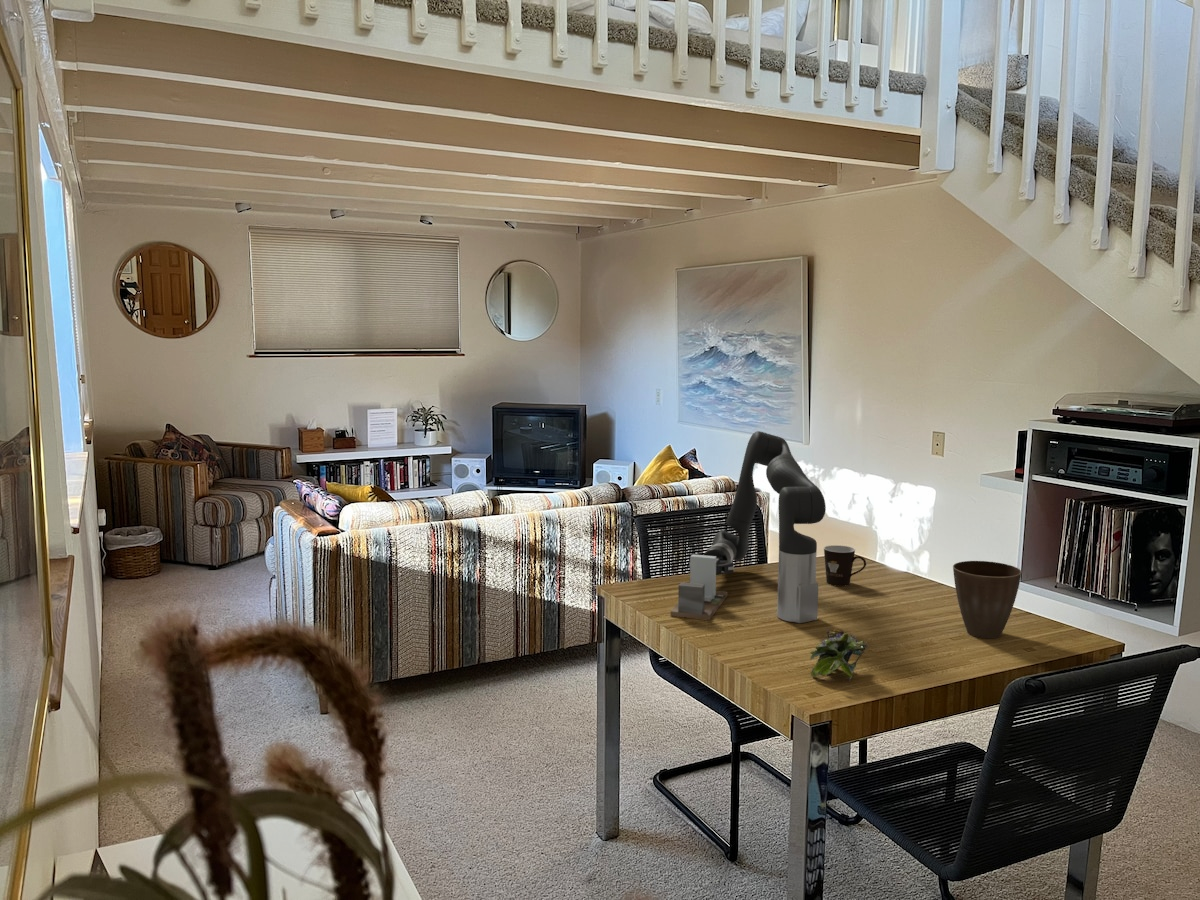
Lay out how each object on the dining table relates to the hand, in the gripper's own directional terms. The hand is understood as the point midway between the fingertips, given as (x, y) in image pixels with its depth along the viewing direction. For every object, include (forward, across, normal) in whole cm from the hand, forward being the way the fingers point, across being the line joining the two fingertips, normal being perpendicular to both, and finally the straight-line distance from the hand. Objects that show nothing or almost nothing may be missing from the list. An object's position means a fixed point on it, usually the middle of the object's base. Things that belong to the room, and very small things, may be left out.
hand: (704, 573), depth 242 cm
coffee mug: (-29, +33, +8) cm, 45 cm away
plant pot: (+3, +69, +8) cm, 69 cm away
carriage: (+4, +1, +6) cm, 7 cm away
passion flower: (+42, +39, +8) cm, 58 cm away
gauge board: (+4, 0, +8) cm, 9 cm away
